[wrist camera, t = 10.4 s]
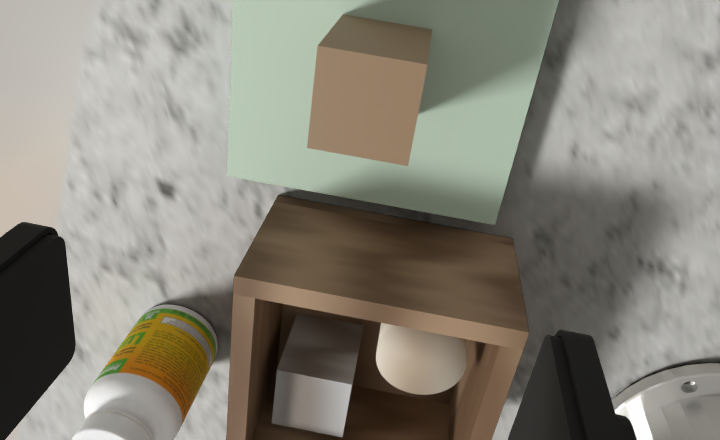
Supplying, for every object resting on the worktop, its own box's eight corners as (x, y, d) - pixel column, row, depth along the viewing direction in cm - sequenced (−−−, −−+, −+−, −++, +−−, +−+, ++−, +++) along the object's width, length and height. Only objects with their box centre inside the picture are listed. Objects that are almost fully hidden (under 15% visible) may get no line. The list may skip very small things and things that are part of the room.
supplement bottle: (158, 287, 38) (75, 402, 30) (233, 330, 39) (174, 454, 31) (126, 340, 41) (42, 460, 32) (198, 380, 42) (134, 507, 33)
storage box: (513, 238, 34) (529, 332, 27) (460, 409, 40) (462, 521, 33) (278, 195, 34) (234, 275, 27) (263, 370, 40) (224, 471, 34)
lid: (576, -79, 25) (616, -66, 19) (493, 215, 32) (503, 293, 26) (244, -132, 26) (181, -136, 20) (232, 168, 33) (183, 233, 27)
